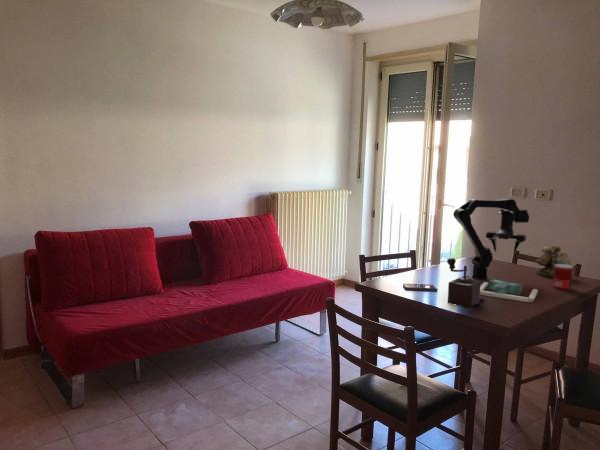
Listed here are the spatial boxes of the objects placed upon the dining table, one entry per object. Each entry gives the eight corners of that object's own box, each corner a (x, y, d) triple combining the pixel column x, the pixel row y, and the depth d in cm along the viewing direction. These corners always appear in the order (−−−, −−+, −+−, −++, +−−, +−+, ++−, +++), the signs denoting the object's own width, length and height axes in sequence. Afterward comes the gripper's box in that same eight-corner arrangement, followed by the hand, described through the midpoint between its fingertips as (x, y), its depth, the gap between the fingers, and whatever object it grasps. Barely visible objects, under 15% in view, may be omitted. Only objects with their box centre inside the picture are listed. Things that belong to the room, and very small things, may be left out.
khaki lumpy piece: (530, 274, 267) (532, 243, 265) (540, 271, 275) (542, 240, 272) (565, 281, 253) (568, 248, 251) (575, 277, 261) (578, 245, 259)
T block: (482, 292, 232) (482, 284, 232) (491, 287, 241) (492, 279, 241) (512, 298, 223) (513, 290, 223) (521, 293, 232) (522, 284, 232)
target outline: (475, 293, 230) (476, 290, 230) (483, 284, 245) (484, 282, 245) (532, 302, 217) (532, 299, 217) (537, 292, 233) (537, 289, 232)
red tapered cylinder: (573, 290, 237) (575, 268, 235) (555, 289, 239) (557, 267, 237) (568, 286, 244) (570, 264, 243) (550, 285, 246) (552, 263, 244)
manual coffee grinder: (480, 302, 217) (483, 262, 214) (469, 308, 209) (472, 266, 206) (447, 295, 227) (449, 256, 225) (435, 300, 219) (438, 260, 217)
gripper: (484, 223, 254) (482, 253, 257) (524, 226, 245) (521, 257, 247) (489, 220, 264) (487, 249, 266) (527, 223, 254) (525, 253, 256)
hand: (504, 252), depth 259 cm, fingers open, 9 cm apart
